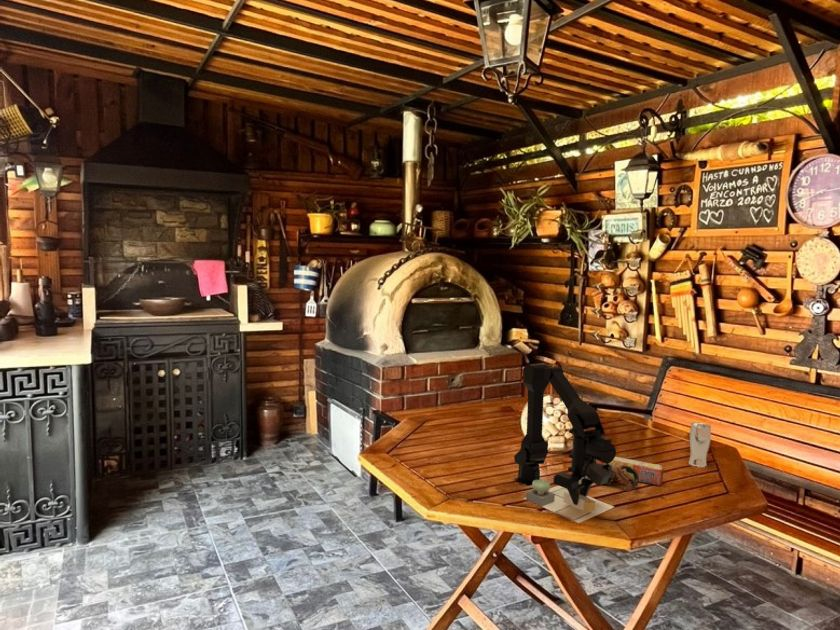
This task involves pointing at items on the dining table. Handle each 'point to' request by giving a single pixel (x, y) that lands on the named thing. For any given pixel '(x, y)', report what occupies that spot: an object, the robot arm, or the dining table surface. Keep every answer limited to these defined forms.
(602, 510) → the picture board
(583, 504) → the marker
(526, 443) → the robot arm
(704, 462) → the beer glass
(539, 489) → the button
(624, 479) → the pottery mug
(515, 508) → the dining table surface
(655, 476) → the snack package
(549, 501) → the button housing
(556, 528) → the dining table surface
